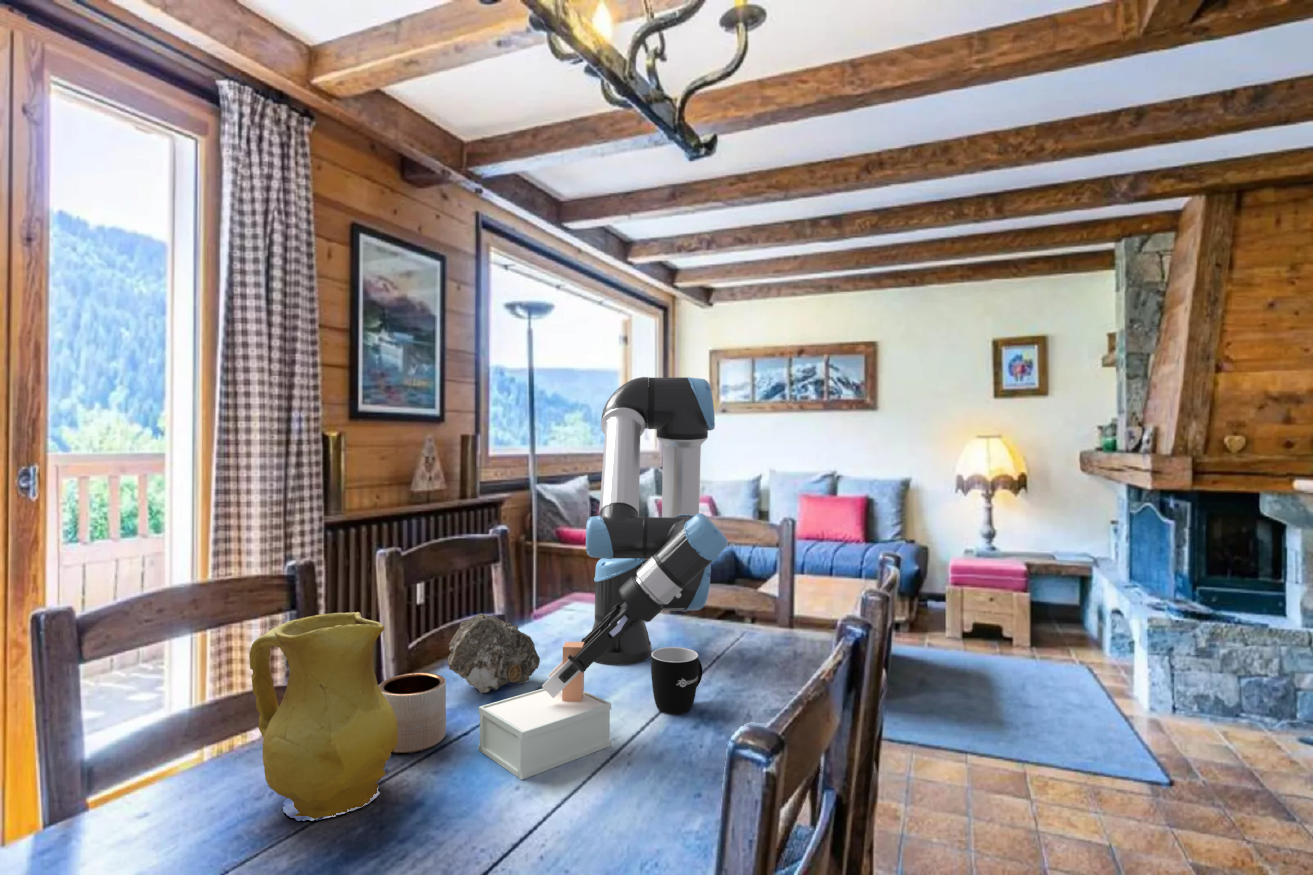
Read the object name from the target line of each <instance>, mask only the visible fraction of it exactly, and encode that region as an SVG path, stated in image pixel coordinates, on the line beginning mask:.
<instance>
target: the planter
mask: <svg viewBox="0 0 1313 875" xmlns="http://www.w3.org/2000/svg"><path fill="white" fill-rule="evenodd" d="M378 686H379V687H380V689H381V691H382V693H383V695H384V697H385V698H386V699H387V701H388V702H389V704H390V705H391V707H392V708H393V711H394V714H395V716H396V720H397V723H398V743H397V745H396V748H395V750H394V752H395V753H394V754H397V753H408V754H411V753H410V752H415V753H418V752H417V751H420V752H422V751H421V750H423V751H426V750H425V749H427V750H429V749H431V748H433V747H435V746H437V745H438V744H440V742H442V741H443V740H444V739H445V737H446V733H447V701H446V700H447V699H446V698H447V688H446V687H447V680H446V678H445V677H444V676H442V675H440V674H437V673H431V672H410V673H403V674H399V675H395V676H392V677H389V678H387V679H385V680H383V681H381V683H379V684H378ZM436 744H437V745H436ZM428 748H429V749H428Z"/></svg>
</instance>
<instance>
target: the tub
mask: <svg viewBox="0 0 1313 875" xmlns="http://www.w3.org/2000/svg"><path fill="white" fill-rule="evenodd" d="M543 691H546V690H545V689H544V688H543V687H542V688H540V689H536V690H533V691H529V692H526V693H522V694H519V695H516V696H512V697H509V698H505V699H502V700H498V701H495V702H491V703H488V704H484V705H481V706H479V707H478V714H479V744H478V748H477V751H479V752H481V753H482V754H484V755H485V756H486V757H488V758H489V759H491V760H492V761H494V762H495V763H496V764H498V765H500V766H501V767H502V768H504V769H505V770H507V771H508V772H510V773H511V774H513V775H514V776H516V777H517V778H519V779H520V780H521V781H522V780H525V779H529V778H531V777H533V776H536V775H538V774H541V773H544V772H546V771H549V770H551V769H553V768H556V767H559V766H562V765H564V764H566V763H570V762H573V761H575V760H577V759H580V758H583V757H585V756H588V755H590V754H593V753H596V752H598V751H600V750H603V749H606V748H609V747H611V746H612V740H610V733H611V732H610V729H611V728H610V725H611V722H610V720H611V718H610V717H611V716H610V714H611V712H610V711H611V710H612V702H610V701H608V700H605V699H603V698H601V697H599V696H596V695H594V694H592V693H590V692H587V691H585V690H584V695H586V696H588V697H591V698H593V699H595V700H597V701H599V702H601V703H603V704H604V705H601V706H598V707H595V708H592V709H589V710H586V711H583V712H580V713H577V714H574V715H571V716H568V717H564V718H561V719H558V720H555V721H552V722H549V723H546V724H543V725H540V726H537V727H534V728H531V729H528V730H525V731H522V730H521V729H519V728H517V727H516V726H514V725H512V724H510V723H509V722H507V721H505V720H504V719H502V718H500V717H499V716H497V715H495V714H494V713H492V712H490V711H488V710H487V709H485V708H487V707H491V706H494V705H498V704H501V703H505V702H508V701H511V700H515V699H518V698H522V697H525V696H529V695H532V694H536V693H539V692H543Z"/></svg>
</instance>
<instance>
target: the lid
mask: <svg viewBox="0 0 1313 875" xmlns="http://www.w3.org/2000/svg"><path fill="white" fill-rule="evenodd" d="M583 647H584V642H581V641H565V643H564V644H563V645H562V661H563V665H564V664H565V663H566V662H567V661H568V660H569V659H568V658H567V657H568V656H569V655H571V656H572V657H573V656H575V655H576V654H577V653H578V652H579V651H580V650H581V649H582V648H583ZM584 691H585V672H583V673H582V672H580V673H579V674H578V675H577V676H576V677H575V678H574V679H573V680H572V681H571V682H570V683H569V684H568V685H567V686H566V687H565V688H564V689H563V690H561V691H560V692H559V693H558V694H557V695H556V696H555V697H554V698H552V697H551V696H550V694H549V693H548V692H547V691H543V692H539V693H536V694H532V695H529V696H525V697H522V698H518V699H515V700H511V701H508V702H505V703H501V704H498V705H494V706H491V707H487V708H485V709H487V710H488V711H490V712H492V713H494V714H495V715H497V716H499V717H500V718H502V719H504V720H505V721H507V722H509V723H510V724H512V725H514V726H516V727H517V728H519V729H521V730H522V731H525V730H528V729H531V728H534V727H537V726H540V725H543V724H546V723H549V722H552V721H555V720H558V719H561V718H564V717H568V716H571V715H574V714H577V713H580V712H583V711H586V710H589V709H592V708H595V707H598V706H601V705H604V704H603V703H601V702H599V701H597V700H595V699H593V698H591V697H588V696H586V695H584Z"/></svg>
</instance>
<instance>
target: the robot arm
mask: <svg viewBox="0 0 1313 875" xmlns="http://www.w3.org/2000/svg"><path fill="white" fill-rule="evenodd" d="M713 399H714V398H713V394H712V388H711V385H710V383H709V381H708V380H706V379H704V378H699V377H697V378H696V377H690V376H688V377H687V376H686V377H678V376H677V377H649V376H642V377H636V378H632V379H631V380H629V381H627V382H625V383H623V384H622V385H621V386H619V387H618V388H617V389H616V390H615V391H614V392H613V393H612V394H611V395H610V397H609V398H608V400H607V401H606V403H605V405H604V407H603V408H602V413H601V419H600V429H601V431H602V433H603V434H604V441H603V442H604V443H603V455H602V468H601V469H602V472H601V483H600V484H601V486H600V494H599V495H600V496H599V510H598V515H596V516H589V517H588V519H587V520H586V527H585V528H586V529H585V551H586V553H587V555H588V556H589V557H590V558H596V559H599V560H598V561H597V562H596V565H595V574H594V579H593V580H594V582H595V583H594V584H595V585H594V588H595V589H594V622H593V626H592V629H591V631H590V632H589V633H587V635H586V636H585V637H583V638H582V639H581V641H580V642H584V647H583V648H582V649H581V650H580V651H579V652H578V653H577V654H576V655H575V656H573V657H572V656H571V655H569V656H568V657H567V658H568V659H569V660H568V661H567V662H566V663H565V664H564V665H563V660H562V661H561V662H560V663H559V664H558V665H556V666H555V667H554V669H552V670H551V672H549V673H548V675H547V676H548V677H549V678H548V679H547V680H546V681H545V682H544V683H543V684H542V686H541V687H542V689H543V688H544V689H545V690H546V691H547V692H548V693H549V694H550V696H551V697H552V698H554V697H555V696H556V695H557V694H558V693H559V692H560V691H561V690H563V689H564V688H565V687H566V686H567V685H568V684H569V683H570V682H571V681H572V680H573V679H574V678H575V677H576V676H577V675H578V674H579V673H580V672H582V673H583V672H584V673H585V672H586V671H587V670H588V668H589V667H591V665H592V664H594V662H595V663H600V664H604V665H616V666H617V665H618V666H619V665H631V664H632V665H633V664H637V663H641V662H644V661H647V660H648V659H651V654H652V652H653V651H652V649H653V648H652V643H651V641H650V636H649V633H648V630H647V629H648V628H647V626H646V623H645V622H647V623H648V622H649V623H650V622H651V621H652V620H654V619H655V617H656V616H658V615H659V613H661V612H662V611H671V612H673V611H675V612H676V611H679V612H681V611H682V612H688V611H699V610H702V609H703V608H704V607H705V606H706V604H707V601H708V597H709V592H710V585H711V572H712V565H711V563H712V562H713V561H715V560H717V559H718V558H719V556H720V555H721V553H722V552H723V551H724V550H726V548H727V546H728V543H729V541H728V538H727V536H726V535H724V533H723V532H722V531H721V529H719V527H718V526H717V525H716V524H715V523H714V522H713V521H712V520H711V519H710V518H709V517H708V516H706V514H703V513H702V512H700V494H701V492H700V491H701V488H700V487H701V454H702V453H701V451H702V449H701V448H702V447H701V446H702V444H704V442H705V441H707V439H708V436H709V433H708V432H709V431H710V432H711V431H712V430H715V428H716V427H715V426H716V423H715V422H716V419H715V408H714V407H715V406H714V400H713ZM646 429H647V430H656V432H655V433H656V439H657V440H658V441H659V442H660V443H661V444H662V482H661V483H662V486H661V487H662V488H661V489H662V493H661V516H659V517H658V516H655V517H654V516H651V517H650V516H639V515H640V480H641V478H640V476H641V472H640V471H641V468H640V467H641V436H642V435H643V433H645V430H646Z"/></svg>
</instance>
